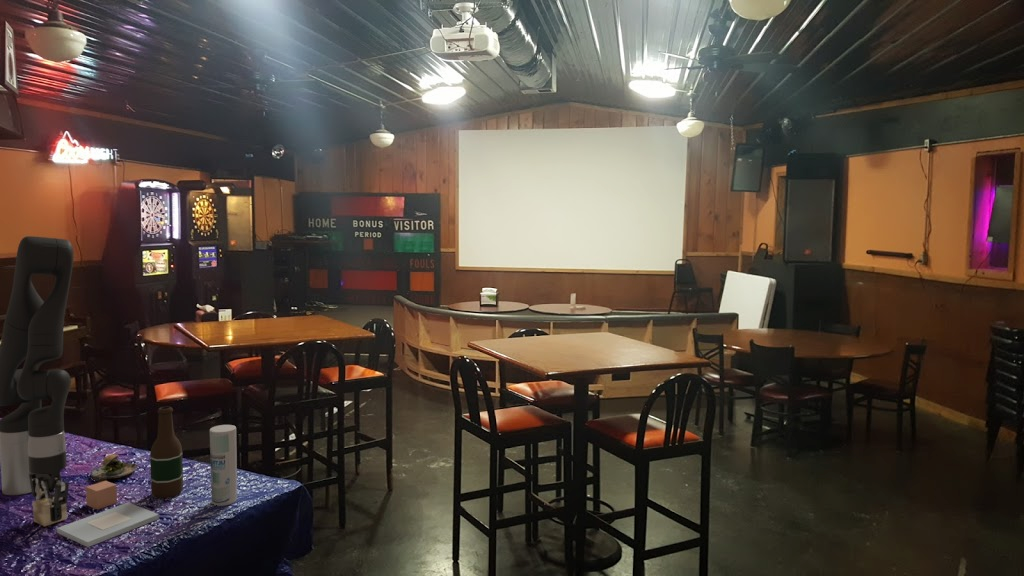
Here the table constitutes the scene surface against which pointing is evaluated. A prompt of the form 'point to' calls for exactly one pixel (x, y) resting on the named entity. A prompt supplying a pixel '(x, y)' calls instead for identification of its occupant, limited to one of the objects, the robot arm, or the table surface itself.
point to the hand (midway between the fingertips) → (50, 517)
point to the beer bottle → (166, 458)
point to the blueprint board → (107, 524)
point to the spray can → (223, 464)
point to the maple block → (46, 512)
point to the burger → (112, 469)
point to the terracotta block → (101, 494)
